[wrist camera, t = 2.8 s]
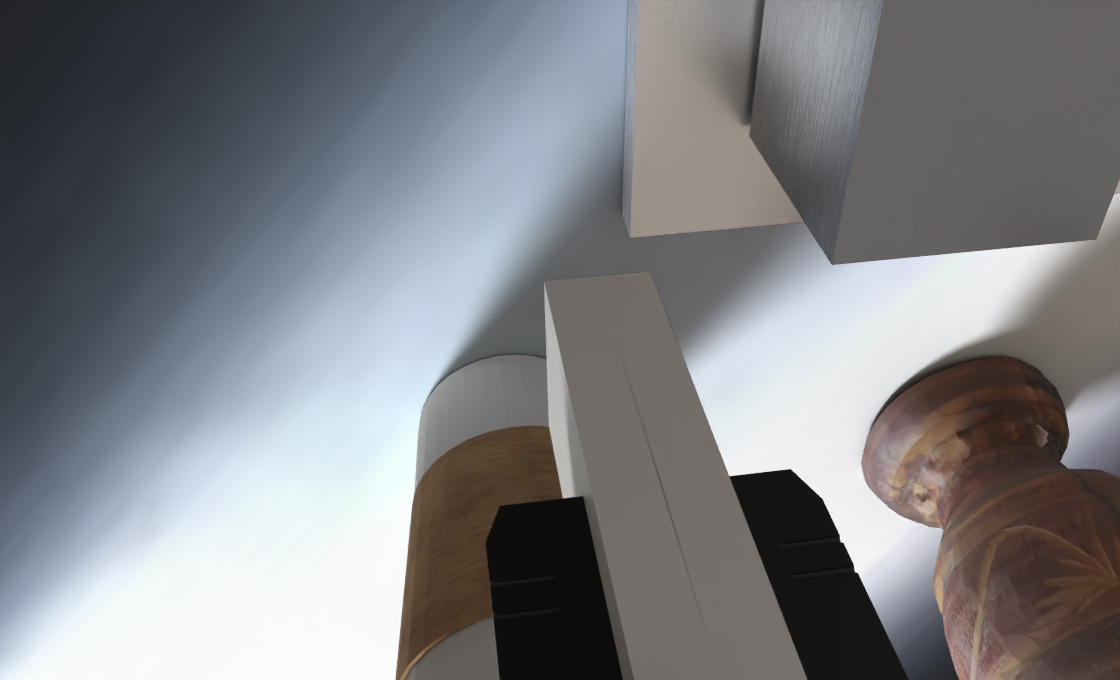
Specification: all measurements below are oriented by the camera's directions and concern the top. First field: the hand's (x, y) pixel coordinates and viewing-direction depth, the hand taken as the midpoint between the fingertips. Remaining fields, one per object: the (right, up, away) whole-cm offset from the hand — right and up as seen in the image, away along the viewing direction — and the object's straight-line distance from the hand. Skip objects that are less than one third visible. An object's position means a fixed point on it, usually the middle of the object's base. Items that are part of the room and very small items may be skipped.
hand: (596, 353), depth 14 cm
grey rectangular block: (+7, +9, +9) cm, 15 cm away
